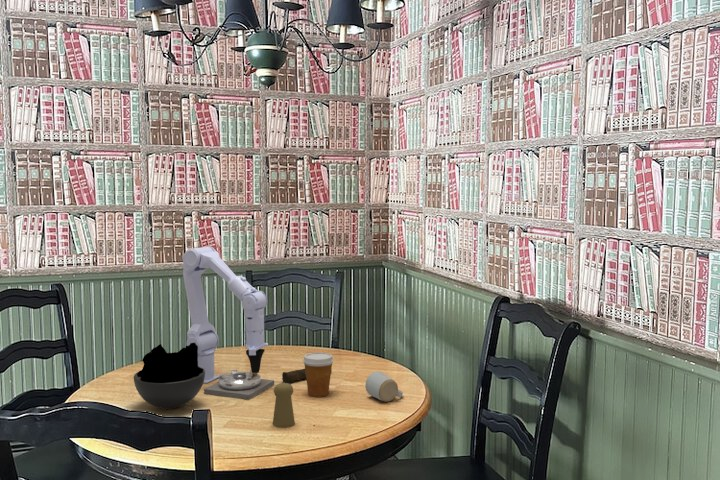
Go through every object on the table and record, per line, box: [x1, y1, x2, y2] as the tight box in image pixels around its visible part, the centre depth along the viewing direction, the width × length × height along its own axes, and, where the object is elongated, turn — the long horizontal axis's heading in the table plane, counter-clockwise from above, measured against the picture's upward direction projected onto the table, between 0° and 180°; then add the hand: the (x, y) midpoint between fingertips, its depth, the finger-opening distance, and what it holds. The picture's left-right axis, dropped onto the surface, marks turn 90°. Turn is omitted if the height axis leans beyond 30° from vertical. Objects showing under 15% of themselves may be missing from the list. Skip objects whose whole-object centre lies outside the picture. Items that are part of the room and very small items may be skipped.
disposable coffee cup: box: [302, 352, 334, 398], centre depth 207 cm, size 10×10×12 cm
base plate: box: [203, 378, 275, 401], centre depth 212 cm, size 16×16×2 cm
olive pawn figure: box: [272, 382, 296, 429], centre depth 181 cm, size 6×6×11 cm
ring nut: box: [218, 369, 262, 390], centre depth 211 cm, size 13×13×6 cm
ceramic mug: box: [364, 371, 404, 403], centre depth 203 cm, size 11×8×8 cm
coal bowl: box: [133, 343, 205, 410], centre depth 194 cm, size 20×20×19 cm
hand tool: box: [281, 368, 333, 384], centre depth 224 cm, size 19×4×5 cm, turn 126°
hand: (255, 372), depth 212 cm, fingers closed, pressing on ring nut
